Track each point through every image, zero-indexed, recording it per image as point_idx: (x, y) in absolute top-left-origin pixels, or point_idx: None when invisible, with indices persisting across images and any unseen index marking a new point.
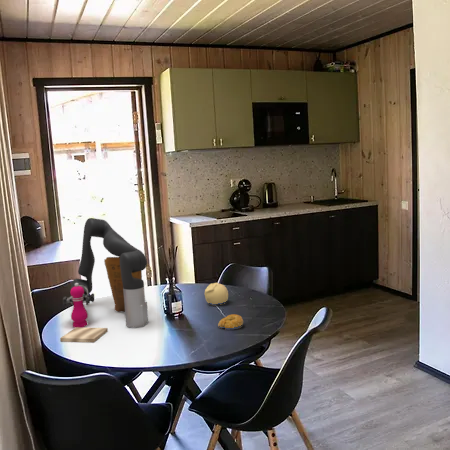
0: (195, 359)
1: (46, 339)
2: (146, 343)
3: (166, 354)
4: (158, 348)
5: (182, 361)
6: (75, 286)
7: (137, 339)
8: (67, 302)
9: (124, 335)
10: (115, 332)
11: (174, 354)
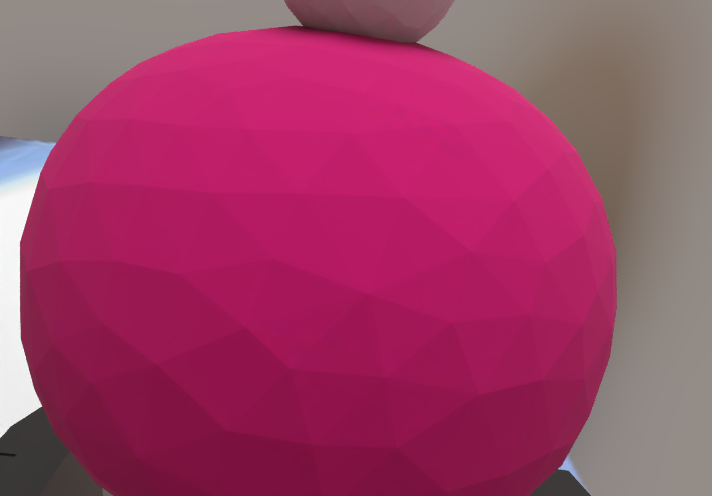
0: (3, 140)
1: (569, 468)
2: (14, 220)
3: (40, 167)
4: (19, 189)
5: (43, 145)
6: (414, 43)
7: (6, 253)
8: (564, 491)
9: (15, 310)
10: (20, 372)
11: (20, 161)
